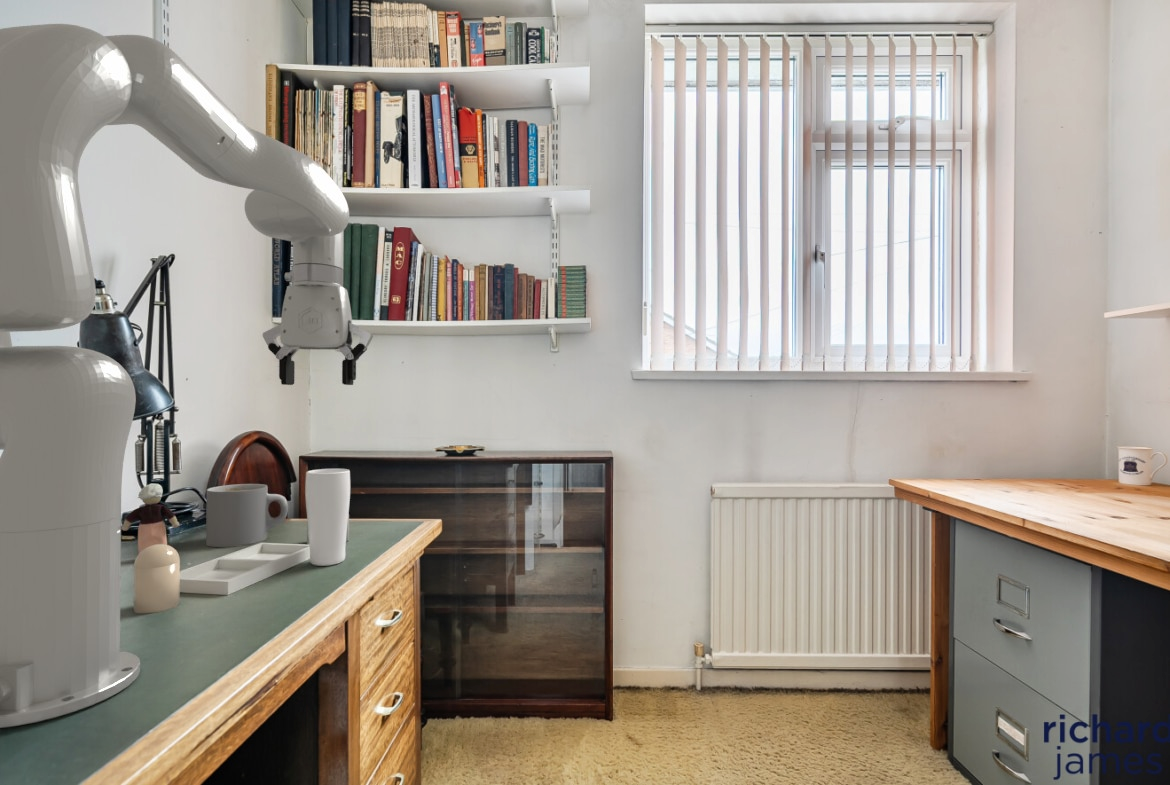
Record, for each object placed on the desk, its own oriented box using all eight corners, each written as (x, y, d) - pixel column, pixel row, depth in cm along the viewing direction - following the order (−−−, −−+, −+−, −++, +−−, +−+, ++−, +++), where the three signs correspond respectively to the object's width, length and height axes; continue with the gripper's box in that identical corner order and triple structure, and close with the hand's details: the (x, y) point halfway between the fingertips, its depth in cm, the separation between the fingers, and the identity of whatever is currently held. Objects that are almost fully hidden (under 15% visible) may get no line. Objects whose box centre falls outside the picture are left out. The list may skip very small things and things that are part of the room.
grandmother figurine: (177, 553, 101) (177, 480, 102) (179, 558, 99) (180, 482, 99) (120, 561, 96) (121, 484, 97) (121, 566, 94) (122, 487, 94)
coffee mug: (197, 548, 105) (198, 492, 105) (216, 536, 114) (217, 484, 115) (280, 543, 108) (280, 489, 109) (291, 532, 118) (292, 482, 118)
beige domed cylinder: (157, 614, 73) (157, 550, 73) (123, 612, 74) (124, 548, 74) (188, 601, 78) (189, 540, 78) (156, 599, 78) (157, 539, 79)
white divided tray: (228, 594, 80) (228, 581, 80) (159, 591, 82) (159, 578, 82) (317, 555, 100) (317, 544, 100) (261, 553, 102) (261, 542, 102)
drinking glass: (339, 568, 93) (339, 473, 93) (296, 568, 93) (297, 473, 93) (356, 556, 99) (357, 468, 100) (317, 556, 100) (317, 468, 100)
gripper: (252, 274, 92) (251, 384, 92) (364, 275, 92) (363, 384, 92) (276, 284, 99) (275, 385, 99) (379, 285, 100) (378, 385, 100)
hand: (317, 384), depth 96 cm, fingers open, 9 cm apart
